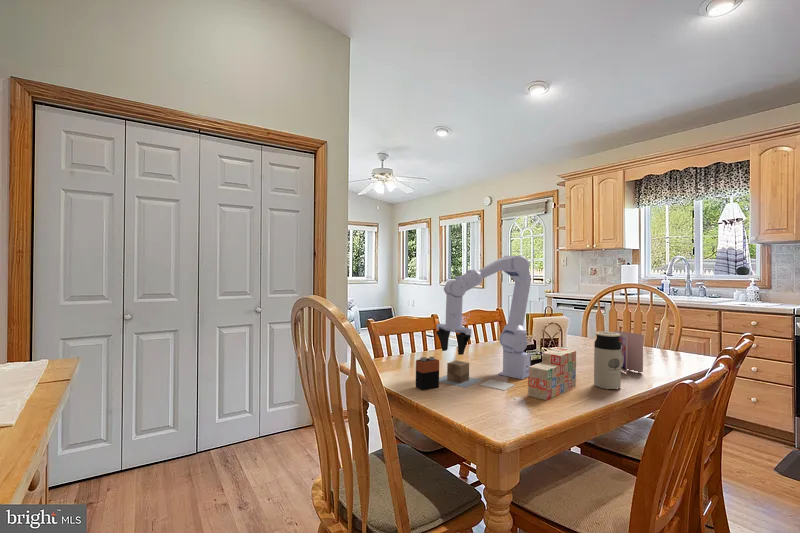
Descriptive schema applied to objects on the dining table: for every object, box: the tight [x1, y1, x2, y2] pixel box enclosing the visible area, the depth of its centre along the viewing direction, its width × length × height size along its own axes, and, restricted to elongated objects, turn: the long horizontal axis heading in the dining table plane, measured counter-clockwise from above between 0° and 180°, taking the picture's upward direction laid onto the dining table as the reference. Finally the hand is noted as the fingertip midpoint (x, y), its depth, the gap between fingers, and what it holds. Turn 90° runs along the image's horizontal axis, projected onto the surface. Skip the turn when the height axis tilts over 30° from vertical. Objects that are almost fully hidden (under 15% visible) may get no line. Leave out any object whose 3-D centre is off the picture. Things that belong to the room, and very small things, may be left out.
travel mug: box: [593, 331, 622, 390], centre depth 135 cm, size 8×8×18 cm
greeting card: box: [614, 330, 644, 374], centre depth 155 cm, size 11×7×15 cm, turn 174°
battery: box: [415, 356, 440, 391], centre depth 132 cm, size 4×7×10 cm, turn 121°
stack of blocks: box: [527, 347, 577, 401], centre depth 130 cm, size 21×6×12 cm, turn 134°
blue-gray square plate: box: [439, 374, 484, 389], centre depth 141 cm, size 13×12×1 cm
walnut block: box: [446, 359, 470, 383], centre depth 141 cm, size 6×6×6 cm
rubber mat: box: [479, 379, 516, 392], centre depth 135 cm, size 9×8×1 cm
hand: (452, 352), depth 142 cm, fingers open, 7 cm apart
